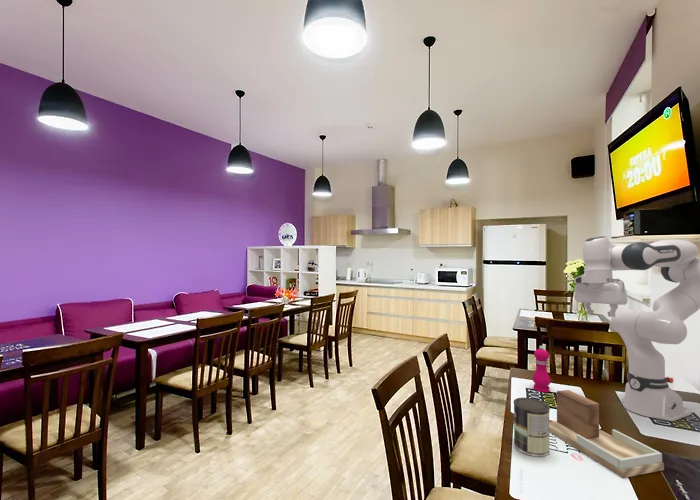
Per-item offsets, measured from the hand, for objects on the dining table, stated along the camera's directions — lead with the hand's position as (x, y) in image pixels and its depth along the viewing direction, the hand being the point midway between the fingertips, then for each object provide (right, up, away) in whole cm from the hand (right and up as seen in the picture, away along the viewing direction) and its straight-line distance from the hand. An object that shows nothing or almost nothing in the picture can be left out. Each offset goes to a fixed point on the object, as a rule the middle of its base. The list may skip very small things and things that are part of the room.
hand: (600, 315), depth 135 cm
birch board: (-15, -39, -20) cm, 46 cm away
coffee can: (-37, -39, -21) cm, 57 cm away
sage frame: (-14, -36, -26) cm, 47 cm away
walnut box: (-17, -37, -13) cm, 42 cm away
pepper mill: (-7, -39, +28) cm, 48 cm away
